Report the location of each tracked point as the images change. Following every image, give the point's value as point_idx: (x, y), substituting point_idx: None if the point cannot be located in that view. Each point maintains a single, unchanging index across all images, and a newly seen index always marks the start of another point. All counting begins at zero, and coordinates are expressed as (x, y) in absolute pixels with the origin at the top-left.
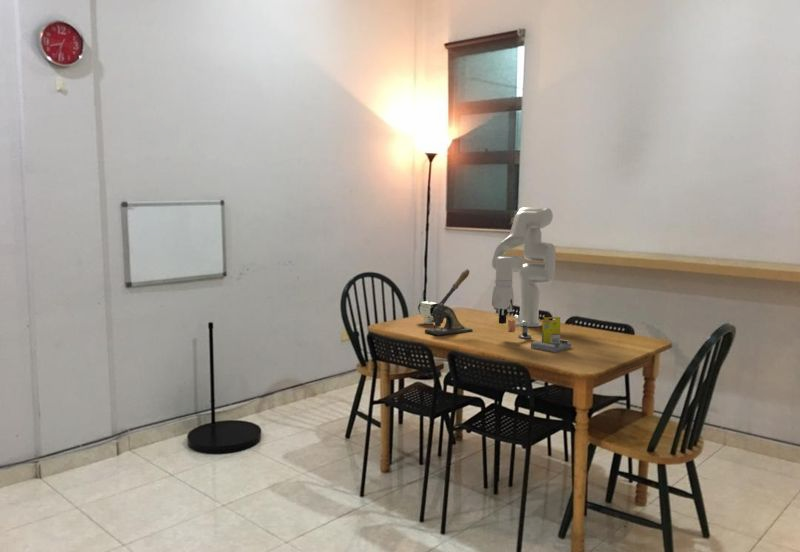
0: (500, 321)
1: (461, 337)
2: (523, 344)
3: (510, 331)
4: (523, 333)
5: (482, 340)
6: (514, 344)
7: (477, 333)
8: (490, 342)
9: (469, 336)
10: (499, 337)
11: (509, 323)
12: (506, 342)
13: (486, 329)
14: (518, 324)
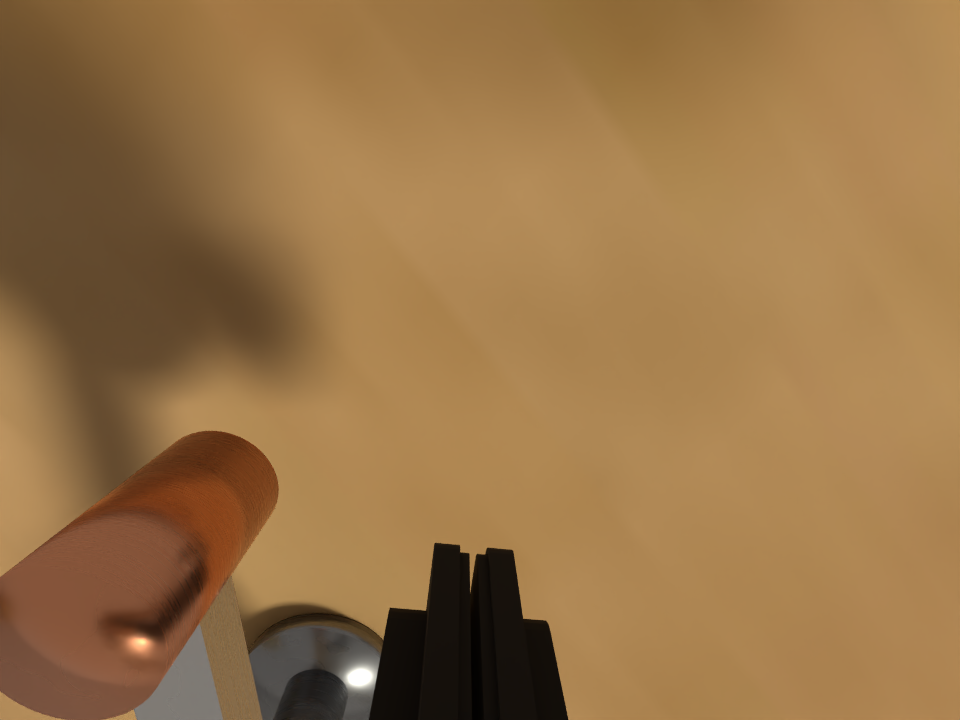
0: (455, 572)
1: (935, 35)
2: (26, 374)
3: (182, 439)
4: (300, 700)
5: (563, 125)
6: (88, 279)
7: (876, 447)
8: (389, 104)
9: (868, 204)
10: (522, 471)
11: (105, 524)
12: (248, 297)
13: (899, 686)
14: (149, 717)
